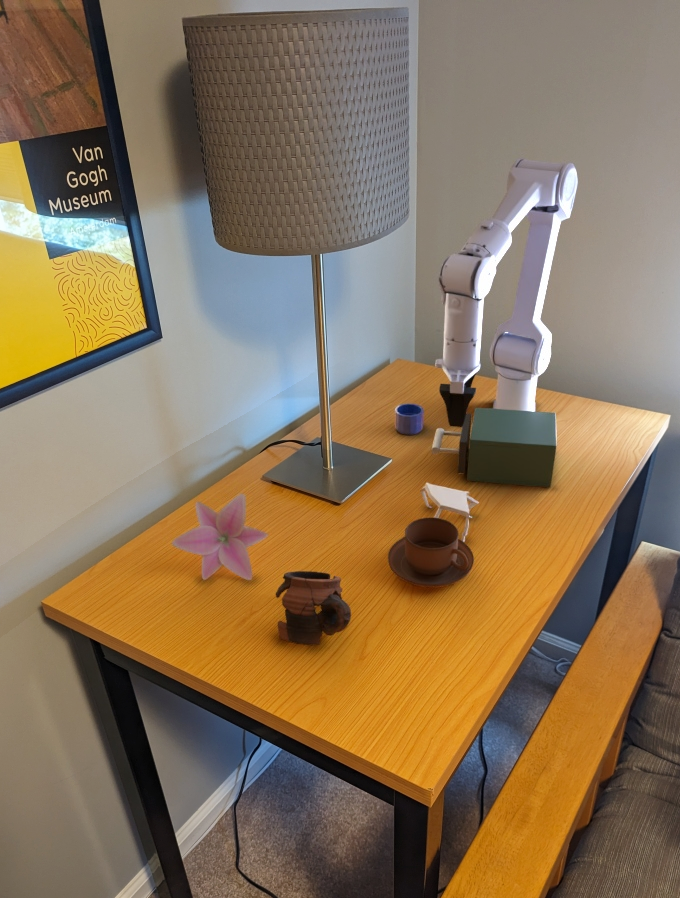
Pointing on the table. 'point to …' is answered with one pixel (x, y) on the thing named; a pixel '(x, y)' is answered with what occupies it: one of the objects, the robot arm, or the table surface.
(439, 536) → the cup and saucer
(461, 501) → the origami figure
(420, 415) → the blue cup
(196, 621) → the table surface
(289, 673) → the table surface
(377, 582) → the table surface
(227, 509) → the lily
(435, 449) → the drawer
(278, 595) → the pottery mug
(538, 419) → the sage green box
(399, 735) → the table surface
